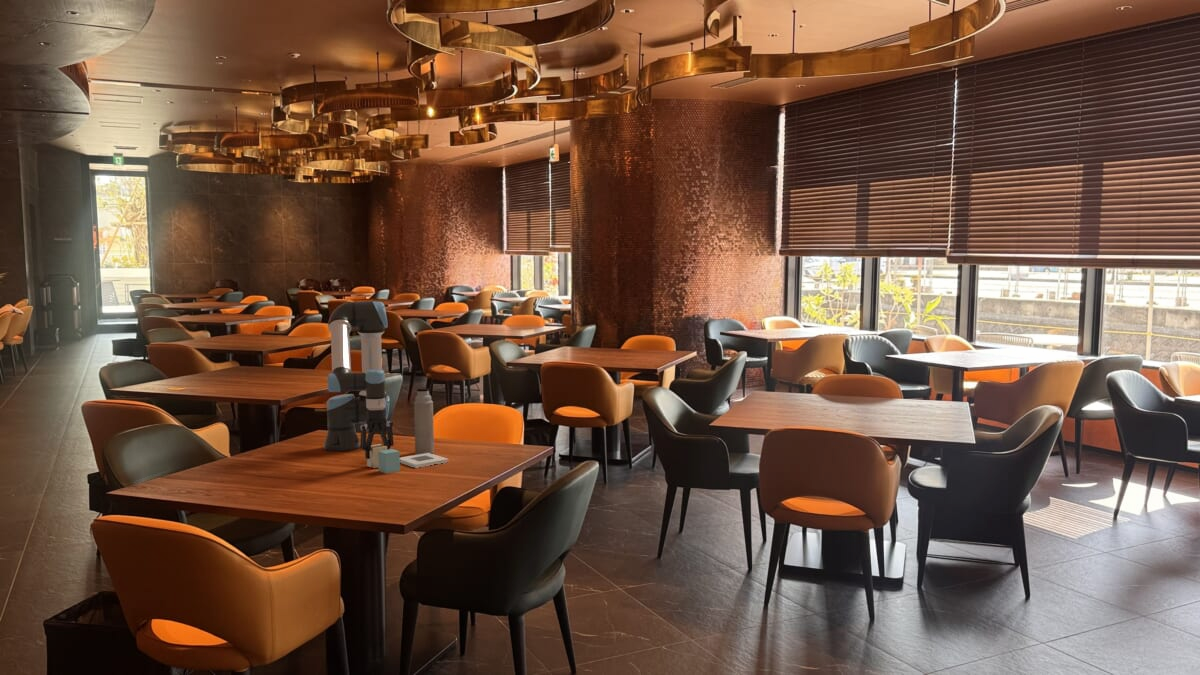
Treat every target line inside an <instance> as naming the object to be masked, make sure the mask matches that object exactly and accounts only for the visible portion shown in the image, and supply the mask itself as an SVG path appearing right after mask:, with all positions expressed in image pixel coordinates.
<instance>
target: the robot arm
mask: <svg viewBox="0 0 1200 675" xmlns="http://www.w3.org/2000/svg"><path fill="white" fill-rule="evenodd" d="M327 323H328V325H327V328H328V331H329V333H330V344H331V346H330V347H331V348H330V349H331V373H328V374H327V391H328V392H330V393H343V392H359V393H358V397H355V394H354V393H348V394H347V393H345V394H339V395H335V396H332V397H330V398H328V399H327V402H326V406H327V407H326V412H327V414H326V415H327V433H326V436H325V441H324V443H323V450H325V451H330V452H346V451H353V450H356V449H357V450H358V449H359V448H360V450H363V451H364V454H365V459H366V466H367V465H368V466H367V467H369V468H372V451H370V448H371V445H373V440H374V436H375V433H377V432H378V433H379V435H380V438H381V441H382V445H384V446H387V450H388V449H391V447H393V446H394V445H395V444H394V433H393V425H394V422H393V421H390V420H388V417H389V411H390V396H389V395H387V392H386V374H385V370H384V369H383V360H382V357H383V352H382V335H383V334H384V333H385V329H387V328H388V326H389V324H388V318H387V311H386V307H385V304H384V302H382V301H373V300H371V301H369V300H368V301H348V302H344V303H342V304H340V305H338V306H337V307H336V308H335V309H334V310H333V311H332V312H331V314H330V316H329V319H328V322H327ZM352 329H353V330H354V329H357V330H356V332H357V333H358V334H359V336H360V342H361V344H360V345H361V346H360V347H361V370H362V372H352V366H351V365H352V364H351V362H352V359H351V343H350V342H351V341H350V339H351V338H350V333H351V331H352ZM356 424H360V425H359V430H360V439H359V436H358V434H357V431H356ZM385 427H386V430H385ZM367 429H368V432H367Z"/></svg>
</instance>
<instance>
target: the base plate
mask: <svg viewBox="0 0 1200 675" xmlns="http://www.w3.org/2000/svg"><path fill="white" fill-rule="evenodd" d="M447 462H449V458H446V457H443V456H440V455H438V454H434V453H433V454H431V453H424V454H414V455H407V456H401V457H400V464H403V465H405V466H408V467H411V468H413V467H414V468H415V469H419V467H421V468H426V467H431V466H430V465H432V466H435V465H434V464H438V465H442V464H441V463H443V464H448V463H447ZM425 466H426V467H425ZM414 468H413V469H414Z"/></svg>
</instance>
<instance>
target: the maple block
mask: <svg viewBox="0 0 1200 675" xmlns="http://www.w3.org/2000/svg"><path fill="white" fill-rule="evenodd" d="M382 450H387V446H384V444H383V443H382V444H381V443H377V444H371V448H370V451H372V467H371V468H372V469H379V456H378V451H382ZM366 466H367V467H368V465H367V464H366Z"/></svg>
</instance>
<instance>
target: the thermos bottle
mask: <svg viewBox="0 0 1200 675" xmlns="http://www.w3.org/2000/svg"><path fill="white" fill-rule="evenodd" d="M429 390H430V389H429V388H426V387H422V388H421V387H420V388H417V389H416V391H417V395H416V396H415V398H414V400H415V401H414V402H413V412H414V413H413V416H414V417H413V418H414V419H413V420H414V421H413V422H414V451H415V452H414V453H416V454H415V455H418V454H424V453H433V452H434V453H435V438H434V437H435V434H434V431H435V430H434V429H435V428H434V401H433V400H432V396H431V394H430V391H429ZM434 453H433V454H434Z"/></svg>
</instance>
